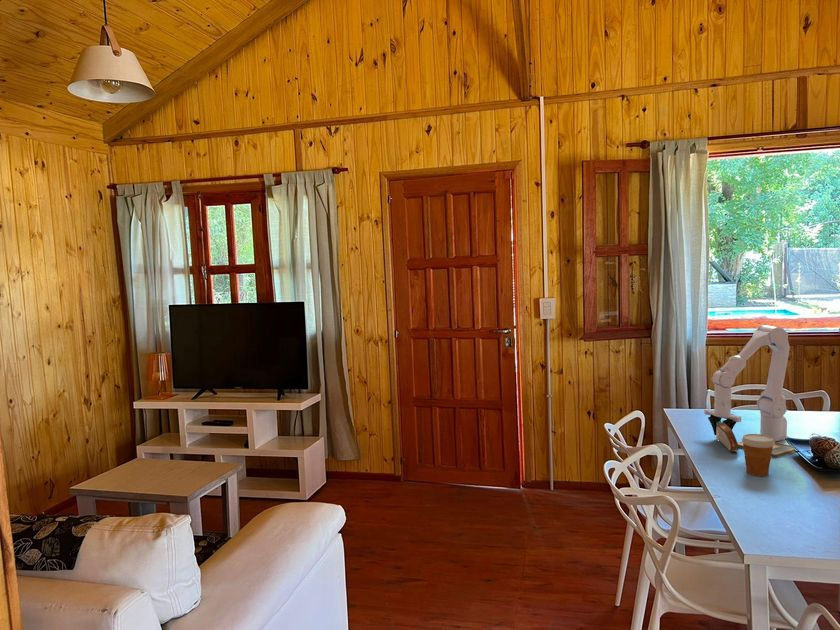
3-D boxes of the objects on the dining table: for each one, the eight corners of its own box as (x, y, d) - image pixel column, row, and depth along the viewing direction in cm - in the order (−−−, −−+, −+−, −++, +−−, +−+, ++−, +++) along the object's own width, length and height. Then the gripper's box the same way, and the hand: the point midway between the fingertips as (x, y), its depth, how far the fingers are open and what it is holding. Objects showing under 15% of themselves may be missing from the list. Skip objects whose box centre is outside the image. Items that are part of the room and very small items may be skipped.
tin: (740, 453, 218) (735, 431, 217) (731, 455, 218) (726, 432, 218) (727, 441, 232) (722, 420, 232) (718, 442, 233) (714, 421, 233)
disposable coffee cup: (734, 470, 202) (735, 435, 201) (754, 466, 206) (755, 431, 205) (760, 480, 194) (761, 443, 193) (780, 475, 197) (781, 439, 196)
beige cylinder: (720, 438, 238) (721, 420, 238) (729, 440, 235) (730, 423, 234) (713, 439, 236) (714, 422, 236) (723, 442, 233) (723, 424, 232)
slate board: (756, 440, 234) (757, 437, 234) (798, 451, 220) (798, 447, 220) (733, 446, 228) (733, 443, 228) (775, 457, 214) (775, 454, 214)
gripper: (699, 399, 239) (698, 433, 240) (733, 407, 226) (732, 442, 227) (711, 397, 242) (710, 430, 243) (745, 404, 229) (744, 439, 230)
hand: (722, 436), depth 235 cm, fingers closed on beige cylinder, 4 cm apart
